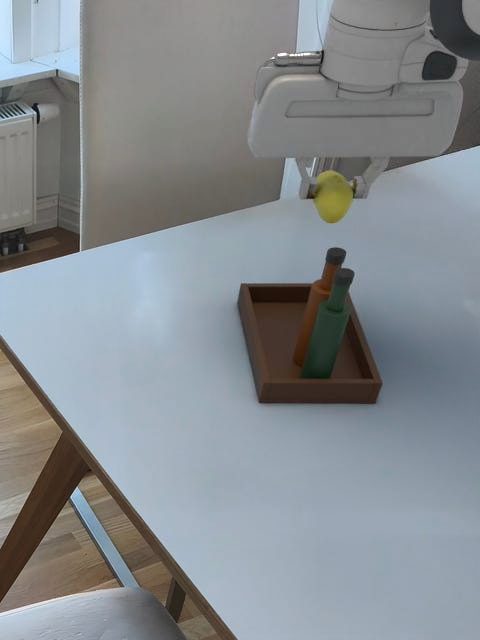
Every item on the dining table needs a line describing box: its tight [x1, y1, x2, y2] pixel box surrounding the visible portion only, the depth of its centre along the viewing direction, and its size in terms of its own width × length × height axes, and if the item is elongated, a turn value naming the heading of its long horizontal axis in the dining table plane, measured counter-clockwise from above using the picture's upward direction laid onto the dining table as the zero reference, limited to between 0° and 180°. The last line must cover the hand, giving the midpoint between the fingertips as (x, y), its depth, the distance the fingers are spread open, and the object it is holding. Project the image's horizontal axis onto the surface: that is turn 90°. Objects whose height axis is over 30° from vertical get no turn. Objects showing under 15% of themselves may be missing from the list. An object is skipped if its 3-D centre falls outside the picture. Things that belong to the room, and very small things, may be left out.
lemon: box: [311, 170, 354, 224], centre depth 95 cm, size 4×8×4 cm, turn 169°
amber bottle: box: [293, 246, 347, 366], centre depth 96 cm, size 3×3×13 cm
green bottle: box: [299, 267, 356, 379], centre depth 93 cm, size 3×3×13 cm
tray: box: [236, 282, 384, 404], centre depth 102 cm, size 13×21×3 cm, turn 177°
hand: (332, 197), depth 95 cm, fingers closed on lemon, 4 cm apart
